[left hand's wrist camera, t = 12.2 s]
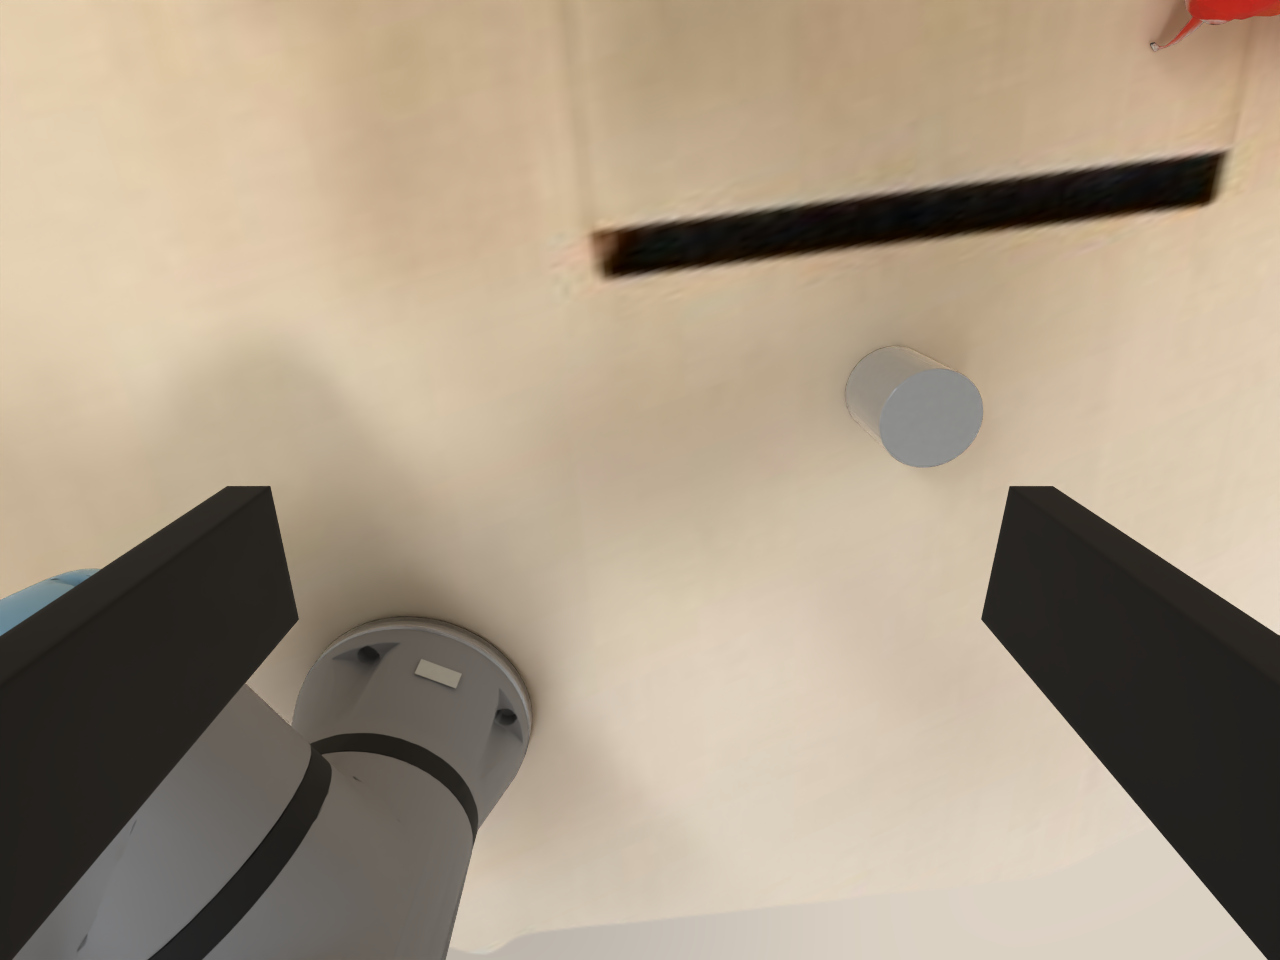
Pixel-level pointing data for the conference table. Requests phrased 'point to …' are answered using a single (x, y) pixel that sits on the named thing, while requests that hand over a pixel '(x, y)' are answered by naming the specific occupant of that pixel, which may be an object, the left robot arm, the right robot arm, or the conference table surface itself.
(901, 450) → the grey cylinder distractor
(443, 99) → the conference table surface
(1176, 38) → the fish
